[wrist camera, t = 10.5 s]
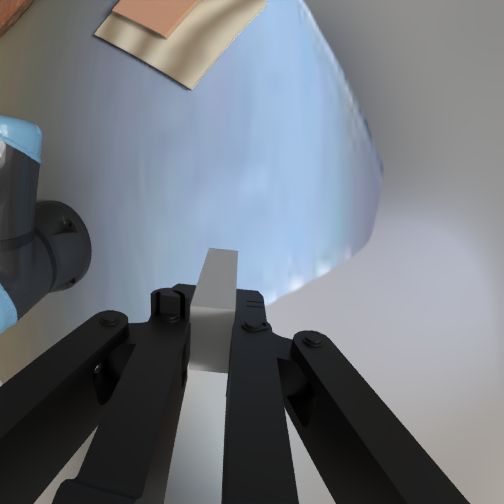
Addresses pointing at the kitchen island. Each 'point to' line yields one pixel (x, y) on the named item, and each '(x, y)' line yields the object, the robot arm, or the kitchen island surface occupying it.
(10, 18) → the ceramic shard
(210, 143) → the kitchen island surface
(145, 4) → the tile
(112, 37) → the board
